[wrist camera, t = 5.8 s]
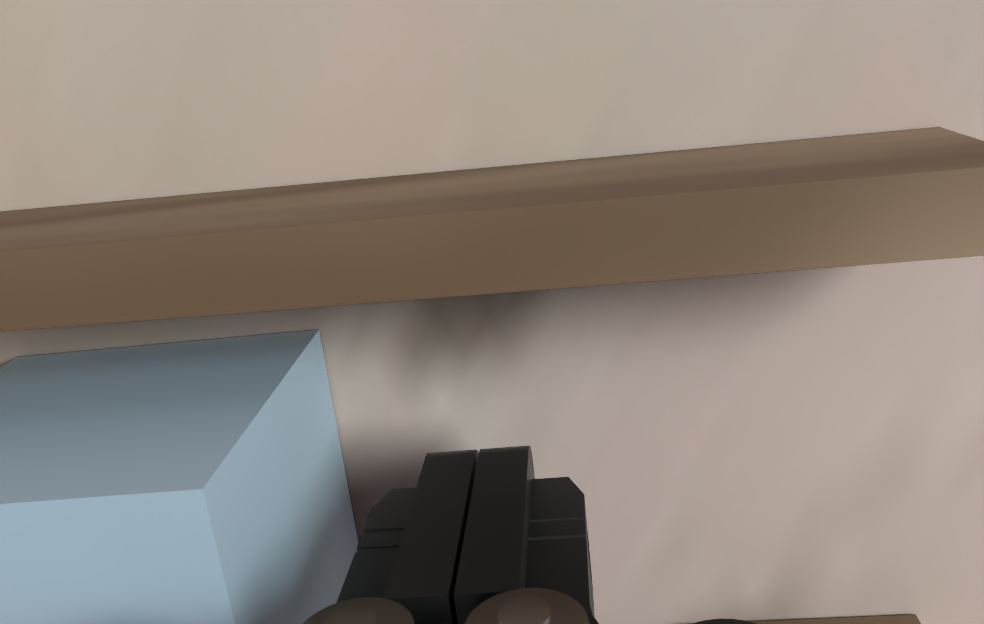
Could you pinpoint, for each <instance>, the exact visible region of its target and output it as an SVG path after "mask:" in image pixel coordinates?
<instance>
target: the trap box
mask: <svg viewBox="0 0 984 624" xmlns="http://www.w3.org/2000/svg"><path fill="white" fill-rule="evenodd" d="M973 256H984V141H982V140H979V139H975V138H972V137H969V136H966V135H963V134H960V133H956V132H953V131H950V130H947V129H944V128H941V127H933V128H922V129H911V130H900V131H889V132H878V133H867V134H856V135H845V136H834V137H823V138H812V139H800V140H789V141H778V142H767V143H756V144H745V145H734V146H723V147H712V148H701V149H690V150H678V151H667V152H656V153H645V154H634V155H623V156H612V157H601V158H590V159H579V160H568V161H557V162H545V163H534V164H523V165H512V166H501V167H490V168H479V169H468V170H457V171H446V172H435V173H424V174H412V175H401V176H390V177H379V178H368V179H357V180H346V181H335V182H324V183H313V184H302V185H291V186H279V187H268V188H257V189H246V190H235V191H224V192H213V193H202V194H191V195H180V196H169V197H157V198H146V199H135V200H124V201H113V202H102V203H91V204H80V205H69V206H58V207H47V208H36V209H24V210H13V211H2V212H0V332H3V331H16V330H29V329H42V328H55V327H68V326H81V325H94V324H107V323H120V322H133V321H146V320H158V319H171V318H184V317H197V316H210V315H223V314H236V313H249V312H262V311H275V310H288V309H301V308H314V307H327V306H339V305H352V304H365V303H378V302H391V301H404V300H417V299H430V298H443V297H456V296H469V295H482V294H495V293H508V292H520V291H533V290H546V289H559V288H572V287H585V286H598V285H611V284H624V283H637V282H650V281H663V280H676V279H688V278H701V277H714V276H727V275H740V274H753V273H766V272H779V271H792V270H805V269H818V268H831V267H844V266H857V265H869V264H882V263H895V262H908V261H921V260H934V259H947V258H960V257H973ZM751 622H752V623H756V624H921V623H920V621H919V620H918V618H917V616H916V615H915V614H914V615H891V616H868V617H844V618H821V619H798V620H774V621H751Z"/></svg>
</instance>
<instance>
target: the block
mask: <svg viewBox="0 0 984 624" xmlns="http://www.w3.org/2000/svg"><path fill="white" fill-rule="evenodd" d="M357 546H358V538H357V532H356V527H355V522H354V516H353V511H352V505H351V500H350V495H349V489H348V484H347V478H346V473H345V468H344V462H343V457H342V451H341V446H340V441H339V435H338V430H337V424H336V419H335V414H334V408H333V403H332V397H331V392H330V387H329V381H328V376H327V370H326V365H325V360H324V354H323V349H322V343H321V338H320V333H319V330H308V331H297V332H286V333H275V334H264V335H253V336H242V337H231V338H220V339H209V340H198V341H187V342H176V343H165V344H154V345H143V346H132V347H121V348H111V349H100V350H89V351H78V352H67V353H56V354H45V355H34V356H23V357H16V358H14V359H13V360H11V361H10V362H8V363H7V364H5V365H4V366H2V367H1V368H0V624H303V623H304V622H305V621H306V620H307V619H308V618H309V617H311V616H312V615H313V614H315V613H317V612H318V611H320V610H322V609H324V608H326V607H328V606H330V605H333V604H335V603H336V602H337V600H338V597H339V594H340V592H341V589H342V586H343V584H344V581H345V578H346V575H347V573H348V570H349V567H350V565H351V562H352V559H353V557H354V554H355V552H357Z"/></svg>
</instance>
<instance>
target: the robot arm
mask: <svg viewBox="0 0 984 624" xmlns="http://www.w3.org/2000/svg"><path fill="white" fill-rule="evenodd" d="M363 531H364V534H362V535H361V538H360V541H359V543H358V546H357V552H355V554H354V557H353V559H352V562H351V565H350V567H349V570H348V573H347V575H346V578H345V581H344V584H343V586H342V589H341V592H340V594H339V597H338V600H337V602H336V603H335V604H333V605H330V606H328V607H326V608H324V609H322V610H320V611H318V612H317V613H315V614H313V615H312V616H311V617H309V618H308V619H307V620H306V621H305V622H304V623H303V624H598V622H597V621H596V620H595V618H594V602H593V585H592V575H591V564H590V553H589V542H588V532H587V521H586V510H585V499H584V494H583V493H582V492H581V490H580V489H579V488H578V487H577V486H576V485H575V484H574V483H573V482H572V481H571V479H570V478H569V477H560V478H545V479H535V477H534V467H533V459H532V452H531V448H530V446H519V447H505V448H491V449H480V451H479V453H478V450H465V451H451V452H437V453H427V455H426V457H425V460H424V464H423V467H422V470H421V474H420V477H419V481H418V484H417V487H416V488H401V489H392V490H391V491H390V492H389V493H388V494H387V495H386V496H385V497H384V498H382V499H381V500H380V501H379V502H378V503H377V504H376V505H375V506H374V507H373V508H372V509H371V511H370V514H369V517H368V519H367V522H366V525H365V527H364V530H363ZM694 624H756V623H752V622H747V621H743V620H735V619H713V620H706V621H701V622H697V623H694Z"/></svg>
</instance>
